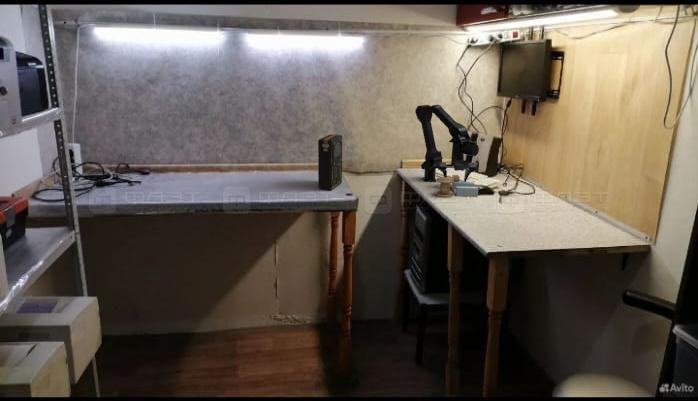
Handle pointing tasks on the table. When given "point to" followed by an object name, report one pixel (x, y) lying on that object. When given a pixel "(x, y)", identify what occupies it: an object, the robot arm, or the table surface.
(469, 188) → the bracket
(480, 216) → the table surface
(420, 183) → the table surface
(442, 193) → the tan door knob
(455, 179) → the brown wooden block
